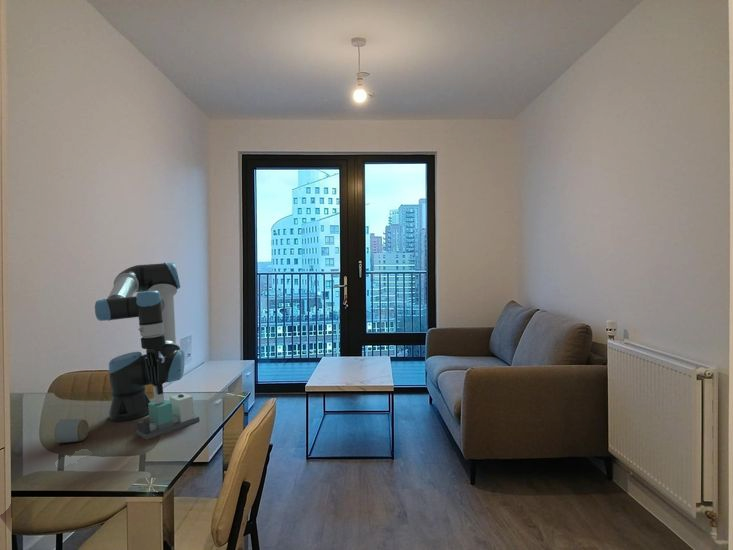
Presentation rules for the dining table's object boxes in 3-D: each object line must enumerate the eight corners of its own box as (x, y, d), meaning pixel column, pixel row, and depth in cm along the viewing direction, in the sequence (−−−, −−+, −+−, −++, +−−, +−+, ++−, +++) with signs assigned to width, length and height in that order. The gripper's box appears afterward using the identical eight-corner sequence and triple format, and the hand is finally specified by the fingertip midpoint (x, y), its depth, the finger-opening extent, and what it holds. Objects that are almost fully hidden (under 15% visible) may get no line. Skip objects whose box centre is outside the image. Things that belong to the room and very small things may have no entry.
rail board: (146, 439, 163) (143, 410, 162) (136, 434, 168) (133, 405, 167) (199, 420, 177) (196, 393, 176) (188, 416, 182) (185, 390, 181)
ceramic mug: (81, 444, 163) (78, 421, 163) (55, 447, 162) (52, 424, 162) (95, 432, 174) (92, 411, 173) (70, 434, 173) (68, 413, 172)
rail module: (159, 430, 166) (157, 407, 166) (150, 425, 171) (148, 403, 170) (173, 425, 170) (171, 403, 169) (164, 420, 175) (162, 398, 174)
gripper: (133, 336, 170) (140, 403, 171) (150, 339, 161) (157, 409, 162) (154, 332, 175) (161, 397, 177) (172, 334, 166) (179, 402, 168)
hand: (159, 402), depth 170 cm, fingers closed
